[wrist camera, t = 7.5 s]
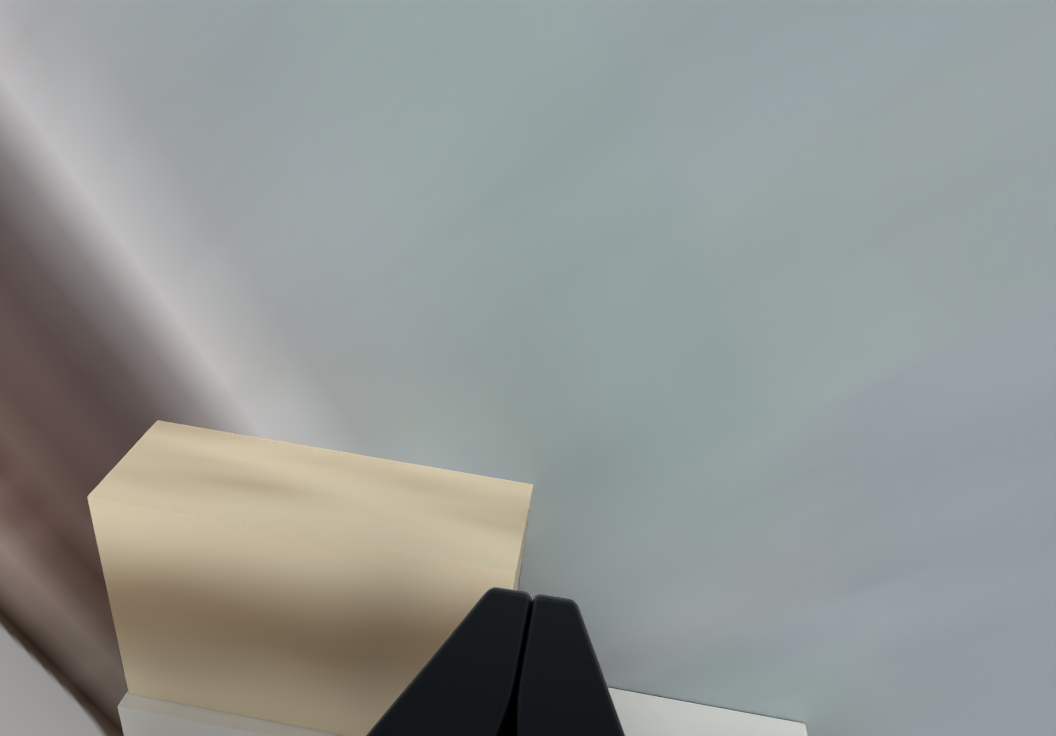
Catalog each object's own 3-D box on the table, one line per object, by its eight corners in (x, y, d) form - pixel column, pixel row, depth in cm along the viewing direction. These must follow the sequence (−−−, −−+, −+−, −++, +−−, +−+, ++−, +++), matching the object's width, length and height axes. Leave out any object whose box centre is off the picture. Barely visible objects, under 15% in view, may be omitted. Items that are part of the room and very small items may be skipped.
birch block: (508, 657, 25) (488, 762, 22) (189, 598, 26) (128, 693, 23) (534, 476, 22) (515, 572, 19) (164, 413, 22) (87, 496, 19)
